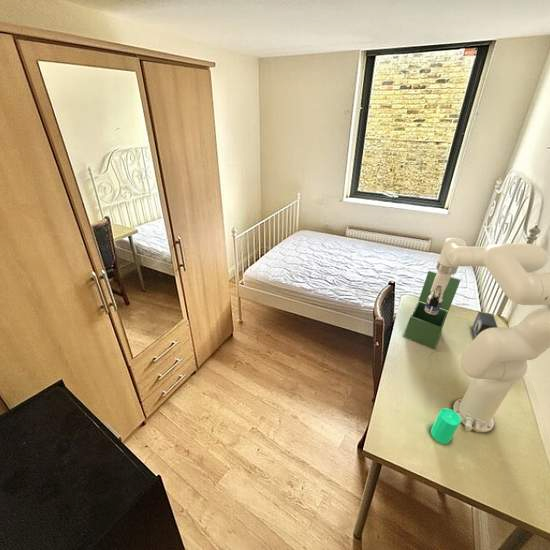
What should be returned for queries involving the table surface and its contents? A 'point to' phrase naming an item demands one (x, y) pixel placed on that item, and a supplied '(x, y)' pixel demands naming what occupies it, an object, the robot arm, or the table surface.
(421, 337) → the chest
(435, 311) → the pill bottle
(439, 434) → the candle
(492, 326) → the small box
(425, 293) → the lid
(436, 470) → the table surface
